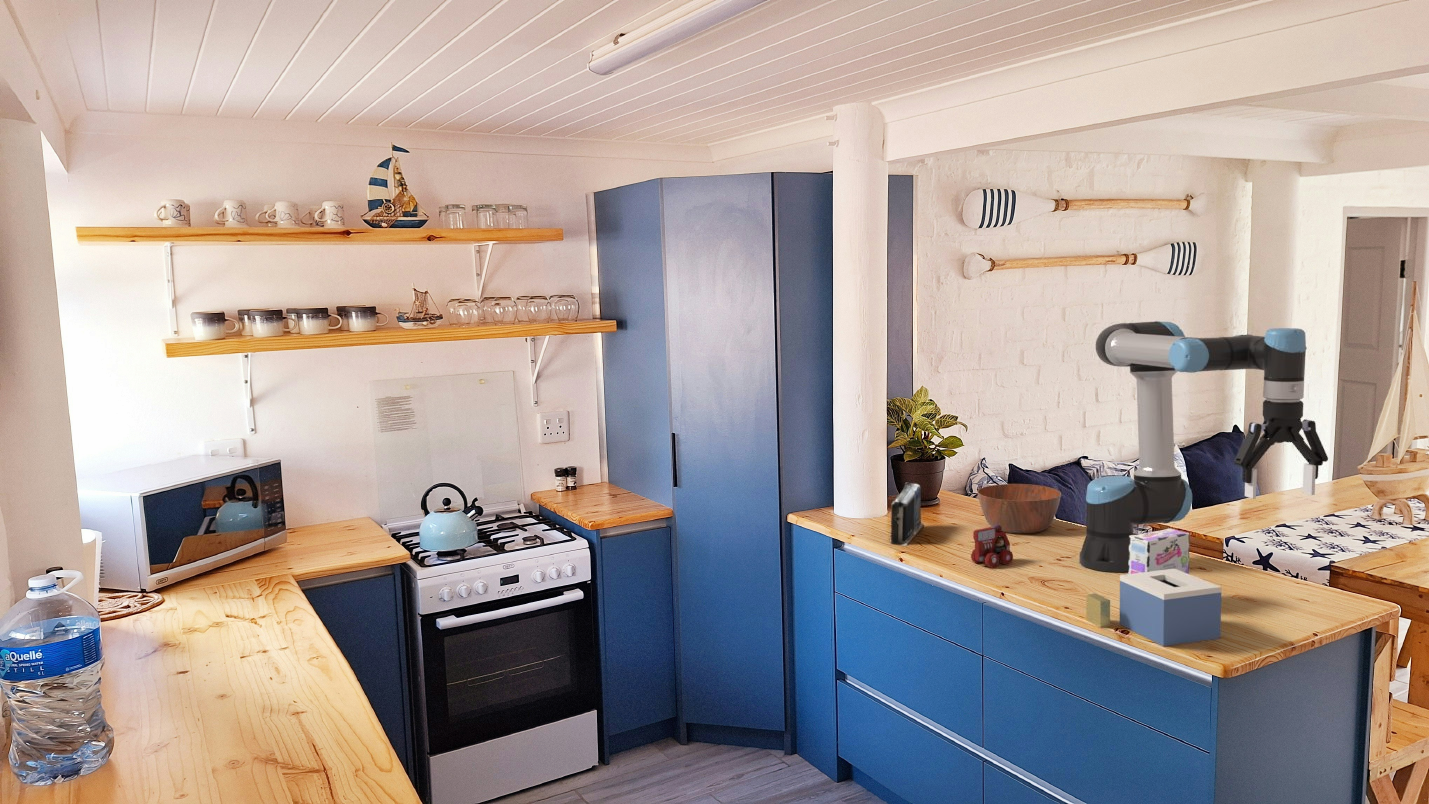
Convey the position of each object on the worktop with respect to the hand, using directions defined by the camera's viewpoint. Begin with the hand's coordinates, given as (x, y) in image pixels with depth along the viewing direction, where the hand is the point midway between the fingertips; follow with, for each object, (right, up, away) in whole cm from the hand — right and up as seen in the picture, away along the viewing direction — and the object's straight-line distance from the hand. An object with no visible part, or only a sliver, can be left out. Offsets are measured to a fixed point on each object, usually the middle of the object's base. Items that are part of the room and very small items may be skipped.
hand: (1279, 495), depth 205 cm
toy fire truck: (-48, -24, +52) cm, 74 cm away
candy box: (-19, -27, +17) cm, 37 cm away
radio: (-64, -21, +83) cm, 107 cm away
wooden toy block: (-38, -29, +4) cm, 48 cm away
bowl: (-29, -19, +88) cm, 94 cm away
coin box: (-26, -29, -2) cm, 39 cm away
